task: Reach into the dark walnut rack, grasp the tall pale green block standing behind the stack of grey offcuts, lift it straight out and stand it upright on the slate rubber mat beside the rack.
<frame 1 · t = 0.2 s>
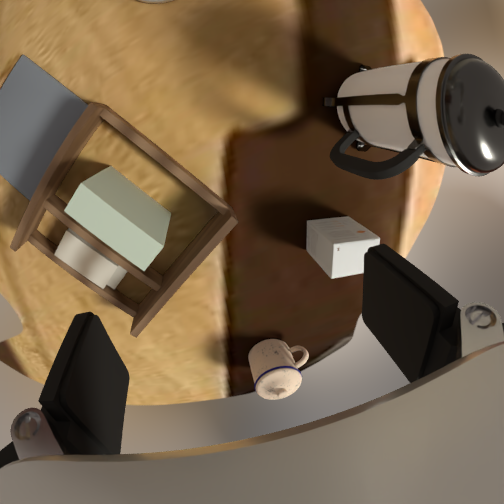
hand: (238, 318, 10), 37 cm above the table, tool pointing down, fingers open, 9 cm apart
small box: (327, 232, 51), on the table
offcut upper: (88, 255, 43), point 1 cm above the table, touching offcut lower
coffee press: (357, 113, 43), on the table
pale green block: (133, 199, 42), on the table
rack: (118, 219, 43), on the table
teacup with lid: (274, 349, 60), on the table
offcut lower: (95, 253, 45), on the table, touching offcut upper
mat: (24, 127, 33), on the table
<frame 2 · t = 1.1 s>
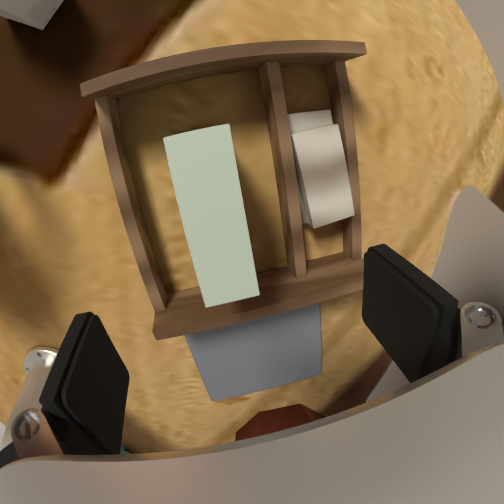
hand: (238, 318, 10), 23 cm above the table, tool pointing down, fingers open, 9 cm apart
bucket: (276, 429, 51), on the table
small box: (37, 5, 17), on the table
offcut upper: (318, 173, 31), point 1 cm above the table, touching offcut lower
pale green block: (206, 185, 31), on the table
rack: (244, 177, 31), on the table
offcut lower: (309, 164, 32), on the table, touching offcut upper
mat: (258, 347, 41), on the table
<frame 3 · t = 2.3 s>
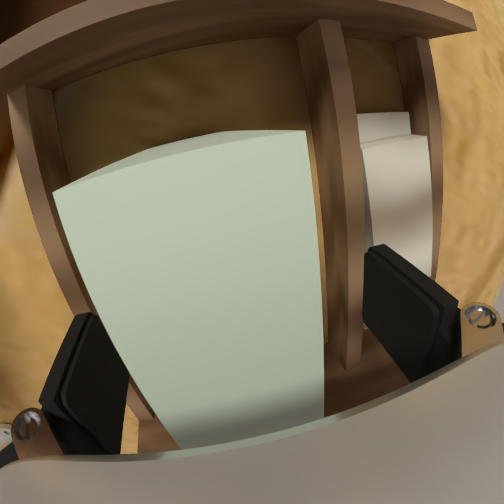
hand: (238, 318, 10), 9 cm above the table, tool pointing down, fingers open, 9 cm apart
offcut upper: (387, 213, 19), point 1 cm above the table, touching offcut lower
pale green block: (207, 236, 18), on the table
rack: (271, 222, 19), on the table
offcut lower: (371, 196, 20), on the table, touching offcut upper
when the fingers open (6 cm above the table, at t = 13.2 s): pale green block drops 1 cm, resting on mat.
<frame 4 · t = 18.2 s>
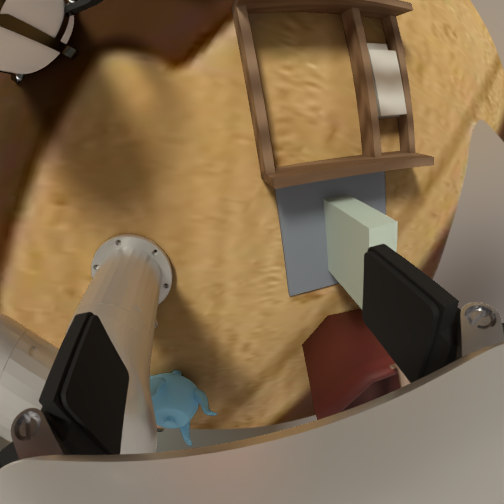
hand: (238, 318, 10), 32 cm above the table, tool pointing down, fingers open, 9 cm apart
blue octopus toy: (170, 384, 53), on the table
bucket: (338, 343, 56), on the table
offcut upper: (381, 82, 36), point 1 cm above the table, touching offcut lower
coffee press: (52, 33, 26), on the table
pale green block: (337, 233, 45), point 1 cm above the table, touching mat
rack: (333, 81, 36), on the table
mat: (337, 232, 46), on the table
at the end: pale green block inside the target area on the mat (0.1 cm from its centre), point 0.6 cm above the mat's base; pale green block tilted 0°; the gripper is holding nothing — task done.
